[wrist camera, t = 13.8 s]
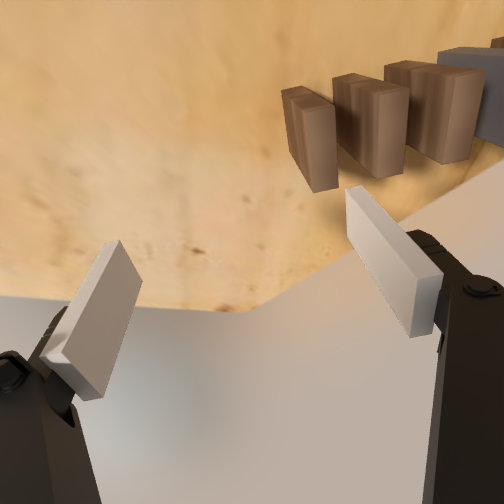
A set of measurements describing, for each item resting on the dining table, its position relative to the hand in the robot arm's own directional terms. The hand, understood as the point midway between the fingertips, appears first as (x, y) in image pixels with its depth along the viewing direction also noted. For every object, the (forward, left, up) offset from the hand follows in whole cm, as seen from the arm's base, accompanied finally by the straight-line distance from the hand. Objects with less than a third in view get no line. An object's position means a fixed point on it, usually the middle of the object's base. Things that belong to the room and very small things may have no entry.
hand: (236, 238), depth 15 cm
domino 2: (+12, 0, -20) cm, 23 cm away
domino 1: (+7, 0, -20) cm, 21 cm away
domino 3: (+17, 0, -20) cm, 26 cm away
